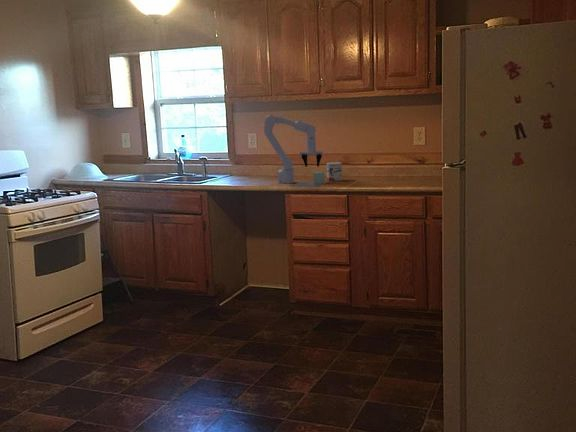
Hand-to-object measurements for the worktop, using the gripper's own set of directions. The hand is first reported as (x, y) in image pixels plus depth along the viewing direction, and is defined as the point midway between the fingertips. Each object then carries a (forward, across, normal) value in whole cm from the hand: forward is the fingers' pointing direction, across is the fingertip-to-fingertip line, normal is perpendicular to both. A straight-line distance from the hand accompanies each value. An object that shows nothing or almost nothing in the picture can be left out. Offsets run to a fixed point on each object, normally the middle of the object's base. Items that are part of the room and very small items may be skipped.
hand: (312, 166), depth 407 cm
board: (+10, +2, -14) cm, 17 cm away
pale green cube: (+9, +7, -9) cm, 15 cm away
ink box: (+10, +13, +4) cm, 17 cm away
